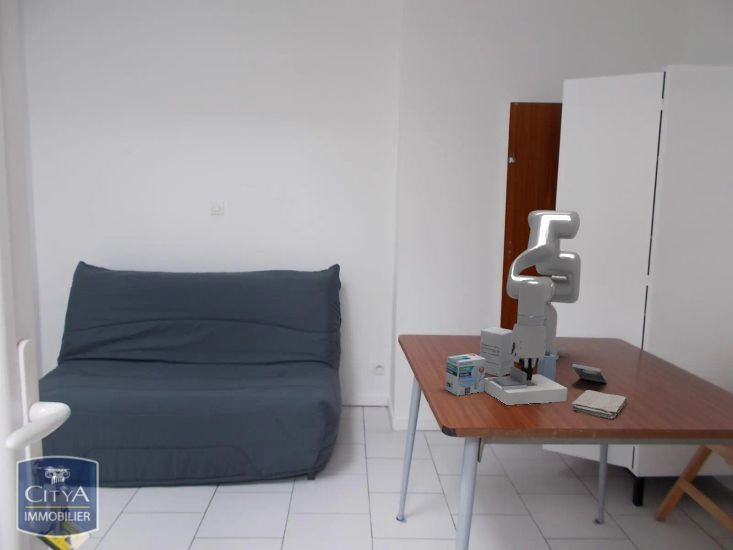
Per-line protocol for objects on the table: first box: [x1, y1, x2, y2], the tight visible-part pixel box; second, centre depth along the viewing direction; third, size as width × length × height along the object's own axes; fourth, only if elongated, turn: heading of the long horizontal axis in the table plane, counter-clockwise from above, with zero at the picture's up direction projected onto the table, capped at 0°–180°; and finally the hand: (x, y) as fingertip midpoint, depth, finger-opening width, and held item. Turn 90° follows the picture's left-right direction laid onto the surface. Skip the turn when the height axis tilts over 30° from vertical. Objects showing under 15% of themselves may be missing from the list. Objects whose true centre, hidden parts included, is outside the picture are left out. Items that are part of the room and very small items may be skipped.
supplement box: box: [479, 326, 515, 377], centre depth 184 cm, size 9×9×15 cm
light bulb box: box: [445, 353, 486, 397], centre depth 164 cm, size 11×7×11 cm, turn 118°
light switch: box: [571, 363, 608, 384], centre depth 172 cm, size 8×6×14 cm
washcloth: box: [571, 389, 628, 420], centre depth 154 cm, size 12×18×3 cm, turn 144°
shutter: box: [493, 365, 527, 387], centre depth 159 cm, size 7×7×4 cm
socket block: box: [484, 373, 568, 406], centre depth 161 cm, size 20×14×5 cm
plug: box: [536, 350, 557, 382], centre depth 172 cm, size 4×4×12 cm
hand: (526, 379), depth 161 cm, fingers closed
